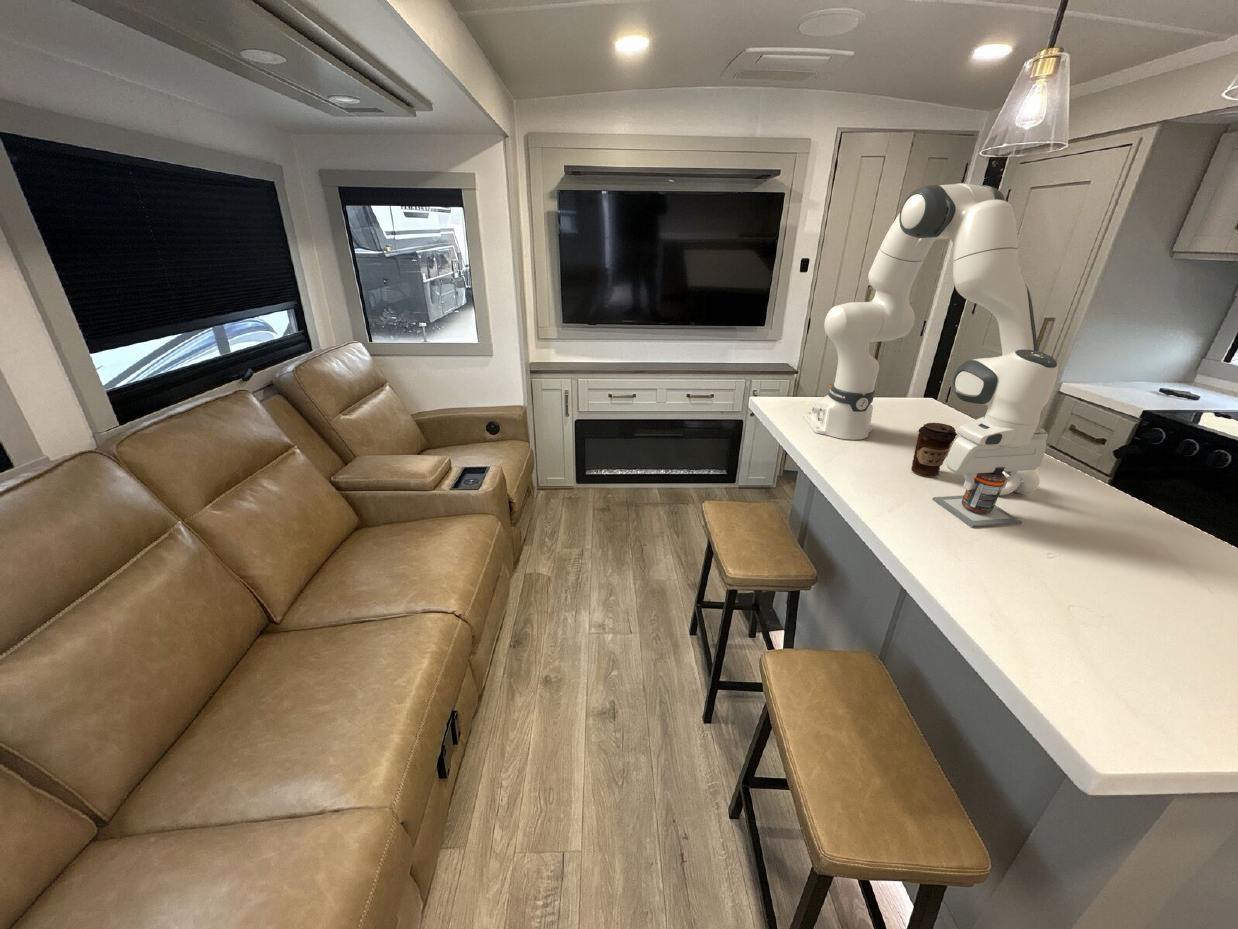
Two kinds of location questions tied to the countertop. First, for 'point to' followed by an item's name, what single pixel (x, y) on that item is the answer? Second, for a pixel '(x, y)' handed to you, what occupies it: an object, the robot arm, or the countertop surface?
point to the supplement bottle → (984, 491)
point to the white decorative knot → (1022, 483)
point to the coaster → (976, 519)
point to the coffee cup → (932, 448)
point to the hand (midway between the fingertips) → (983, 487)
